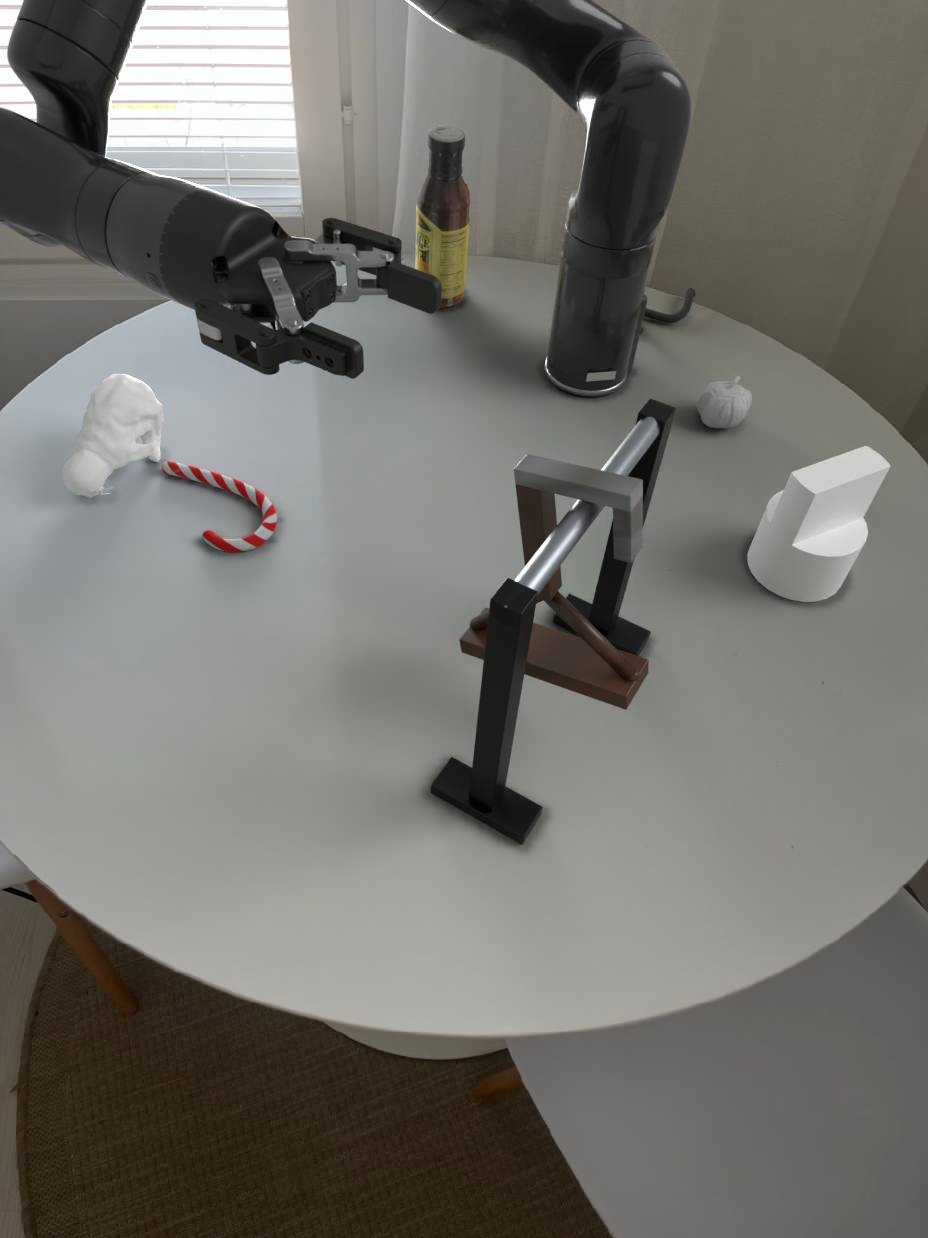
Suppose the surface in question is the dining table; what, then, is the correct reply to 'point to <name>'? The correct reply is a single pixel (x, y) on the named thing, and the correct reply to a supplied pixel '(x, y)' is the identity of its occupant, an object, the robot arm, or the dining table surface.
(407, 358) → the dining table surface
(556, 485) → the hanger
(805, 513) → the cylinder with rectangular tab
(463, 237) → the sauce bottle
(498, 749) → the rail
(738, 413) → the garlic
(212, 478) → the candy cane
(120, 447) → the white lumpy figurine
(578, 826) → the dining table surface
